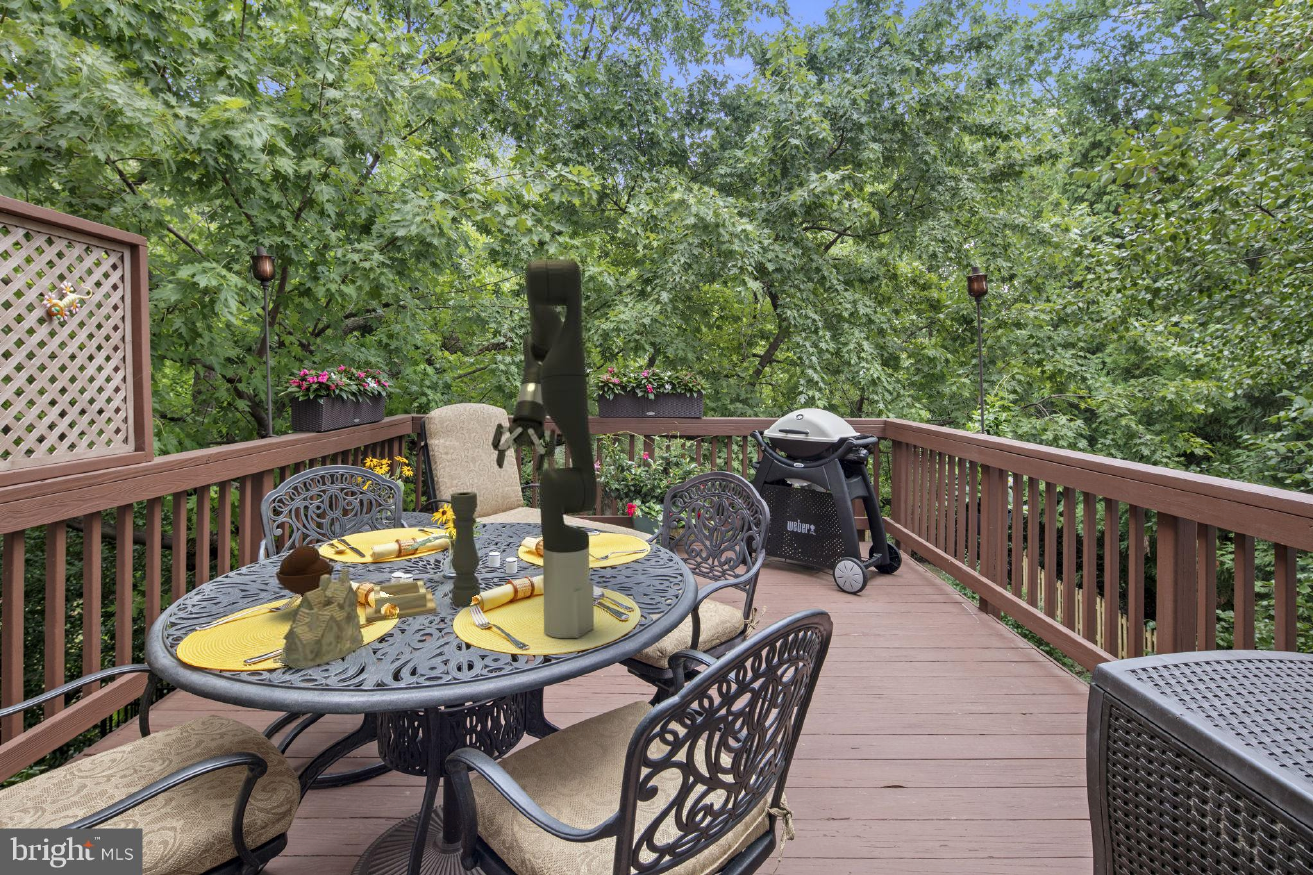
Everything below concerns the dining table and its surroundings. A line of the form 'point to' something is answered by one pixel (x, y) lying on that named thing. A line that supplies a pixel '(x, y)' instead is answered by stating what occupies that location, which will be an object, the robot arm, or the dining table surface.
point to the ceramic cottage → (323, 625)
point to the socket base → (402, 600)
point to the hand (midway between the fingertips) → (518, 469)
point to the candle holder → (464, 549)
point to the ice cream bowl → (303, 570)
